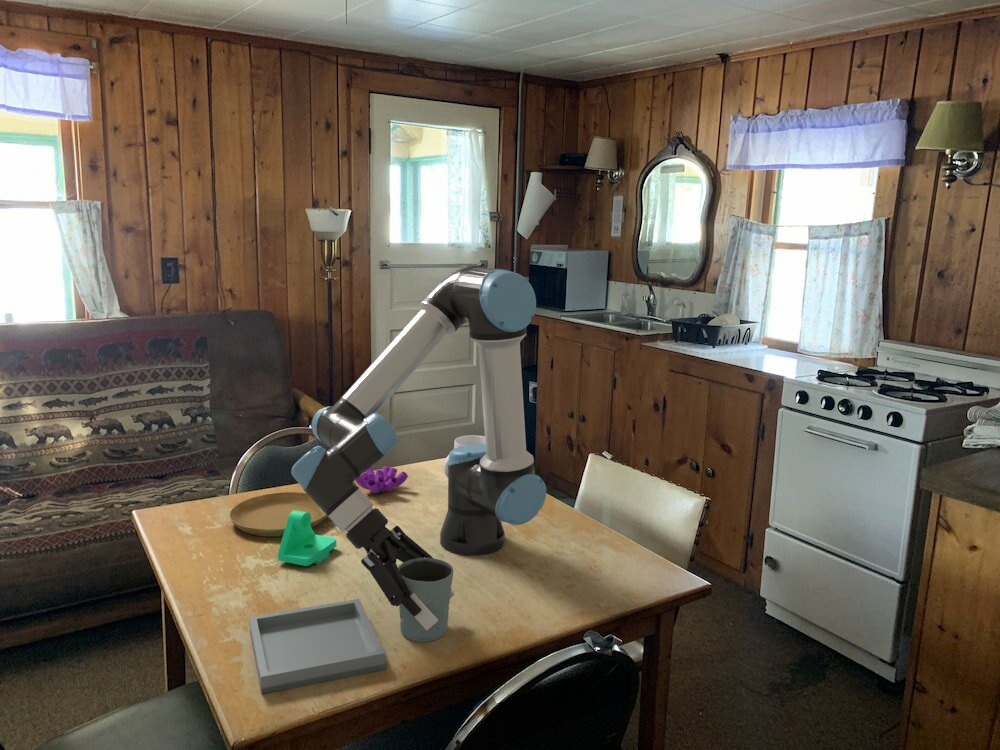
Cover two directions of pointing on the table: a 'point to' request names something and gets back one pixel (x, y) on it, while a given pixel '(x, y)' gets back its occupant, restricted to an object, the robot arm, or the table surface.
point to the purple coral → (381, 479)
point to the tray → (314, 645)
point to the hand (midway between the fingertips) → (441, 611)
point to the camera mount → (303, 541)
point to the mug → (464, 442)
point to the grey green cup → (426, 596)
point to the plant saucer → (273, 512)
